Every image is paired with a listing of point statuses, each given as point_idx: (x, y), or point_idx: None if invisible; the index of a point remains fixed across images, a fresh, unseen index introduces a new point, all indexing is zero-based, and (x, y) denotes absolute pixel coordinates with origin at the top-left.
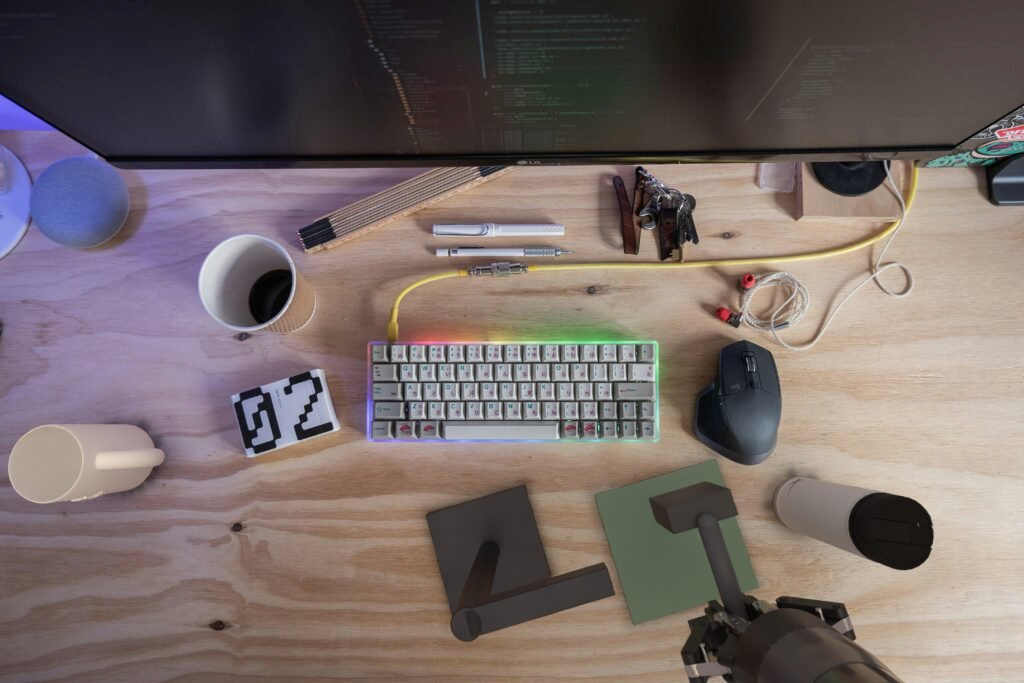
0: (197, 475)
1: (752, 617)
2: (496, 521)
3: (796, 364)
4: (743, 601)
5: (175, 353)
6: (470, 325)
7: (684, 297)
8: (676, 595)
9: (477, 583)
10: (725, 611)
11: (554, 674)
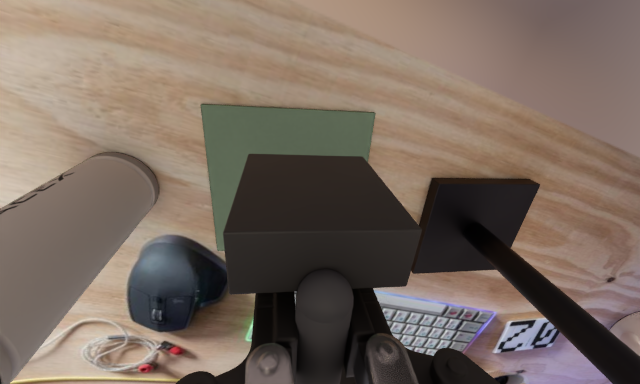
0: (603, 311)
1: (294, 364)
2: (452, 253)
3: (103, 308)
4: (299, 381)
5: (559, 368)
6: None
7: (210, 363)
8: (312, 130)
9: None
10: (350, 375)
11: (483, 87)
